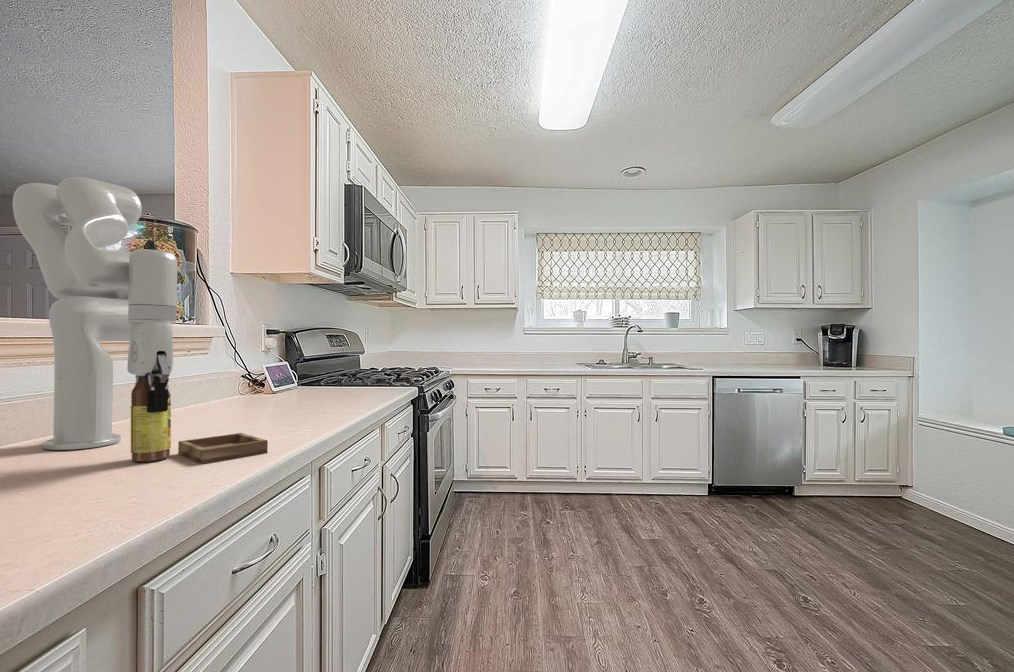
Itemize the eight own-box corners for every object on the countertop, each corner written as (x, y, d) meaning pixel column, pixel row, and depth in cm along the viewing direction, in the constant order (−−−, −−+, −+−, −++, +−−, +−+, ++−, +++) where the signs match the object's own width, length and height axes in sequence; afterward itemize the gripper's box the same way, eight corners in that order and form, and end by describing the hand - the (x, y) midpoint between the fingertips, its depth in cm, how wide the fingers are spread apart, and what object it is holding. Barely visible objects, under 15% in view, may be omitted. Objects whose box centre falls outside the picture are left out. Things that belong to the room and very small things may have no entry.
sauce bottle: (176, 458, 95) (179, 355, 95) (138, 465, 90) (141, 356, 89) (160, 453, 98) (163, 353, 98) (123, 459, 93) (125, 354, 93)
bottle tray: (178, 453, 98) (178, 441, 98) (240, 444, 108) (241, 432, 108) (202, 464, 91) (202, 450, 91) (267, 452, 100) (267, 440, 100)
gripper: (115, 315, 96) (113, 407, 96) (144, 313, 86) (142, 417, 86) (160, 317, 102) (158, 403, 102) (192, 315, 92) (190, 412, 92)
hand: (151, 409), depth 94 cm, fingers closed on sauce bottle, 6 cm apart
